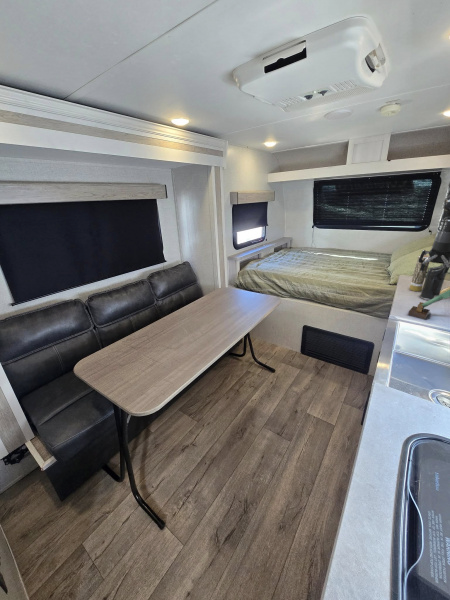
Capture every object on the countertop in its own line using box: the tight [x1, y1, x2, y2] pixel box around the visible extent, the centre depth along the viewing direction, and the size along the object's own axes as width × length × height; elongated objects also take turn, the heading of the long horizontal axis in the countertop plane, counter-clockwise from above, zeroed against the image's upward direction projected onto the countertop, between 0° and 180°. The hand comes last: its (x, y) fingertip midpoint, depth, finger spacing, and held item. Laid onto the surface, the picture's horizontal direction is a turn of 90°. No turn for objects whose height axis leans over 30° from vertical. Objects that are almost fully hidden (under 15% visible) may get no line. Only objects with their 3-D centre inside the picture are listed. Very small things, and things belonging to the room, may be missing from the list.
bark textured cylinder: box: [409, 254, 431, 292], centre depth 170 cm, size 7×7×25 cm
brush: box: [421, 285, 450, 309], centre depth 132 cm, size 5×4×19 cm
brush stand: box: [407, 301, 431, 320], centre depth 139 cm, size 9×8×7 cm
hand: (432, 272), depth 121 cm, fingers open, 8 cm apart
